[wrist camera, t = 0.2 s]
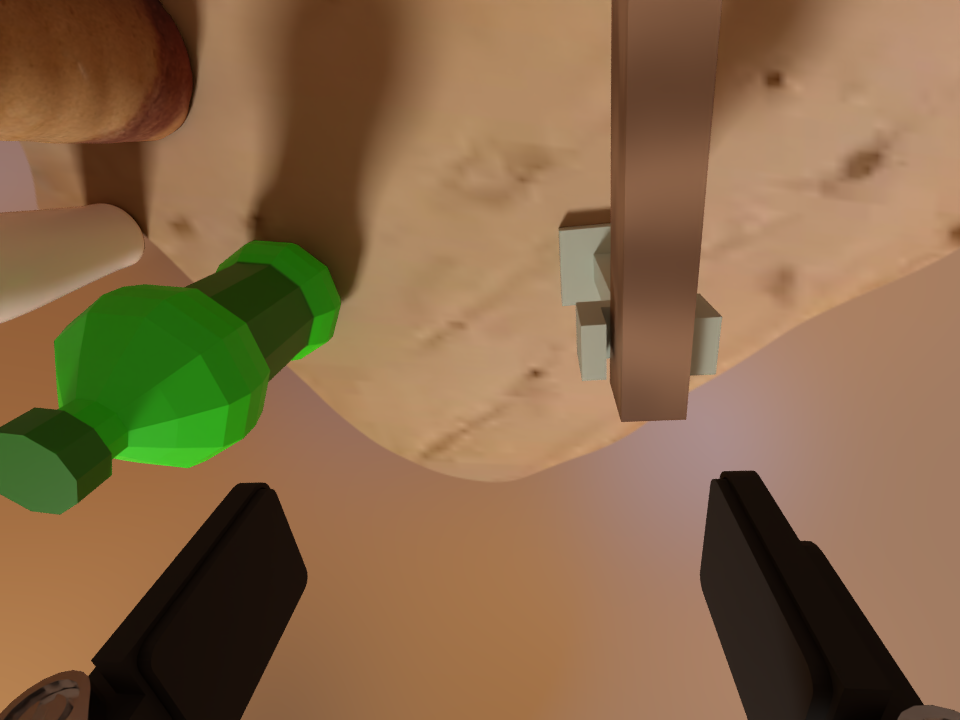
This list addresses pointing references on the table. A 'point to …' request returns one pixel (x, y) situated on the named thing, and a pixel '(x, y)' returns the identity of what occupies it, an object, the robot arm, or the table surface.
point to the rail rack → (591, 294)
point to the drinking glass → (61, 252)
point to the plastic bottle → (167, 373)
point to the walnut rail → (658, 196)
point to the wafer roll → (91, 71)
